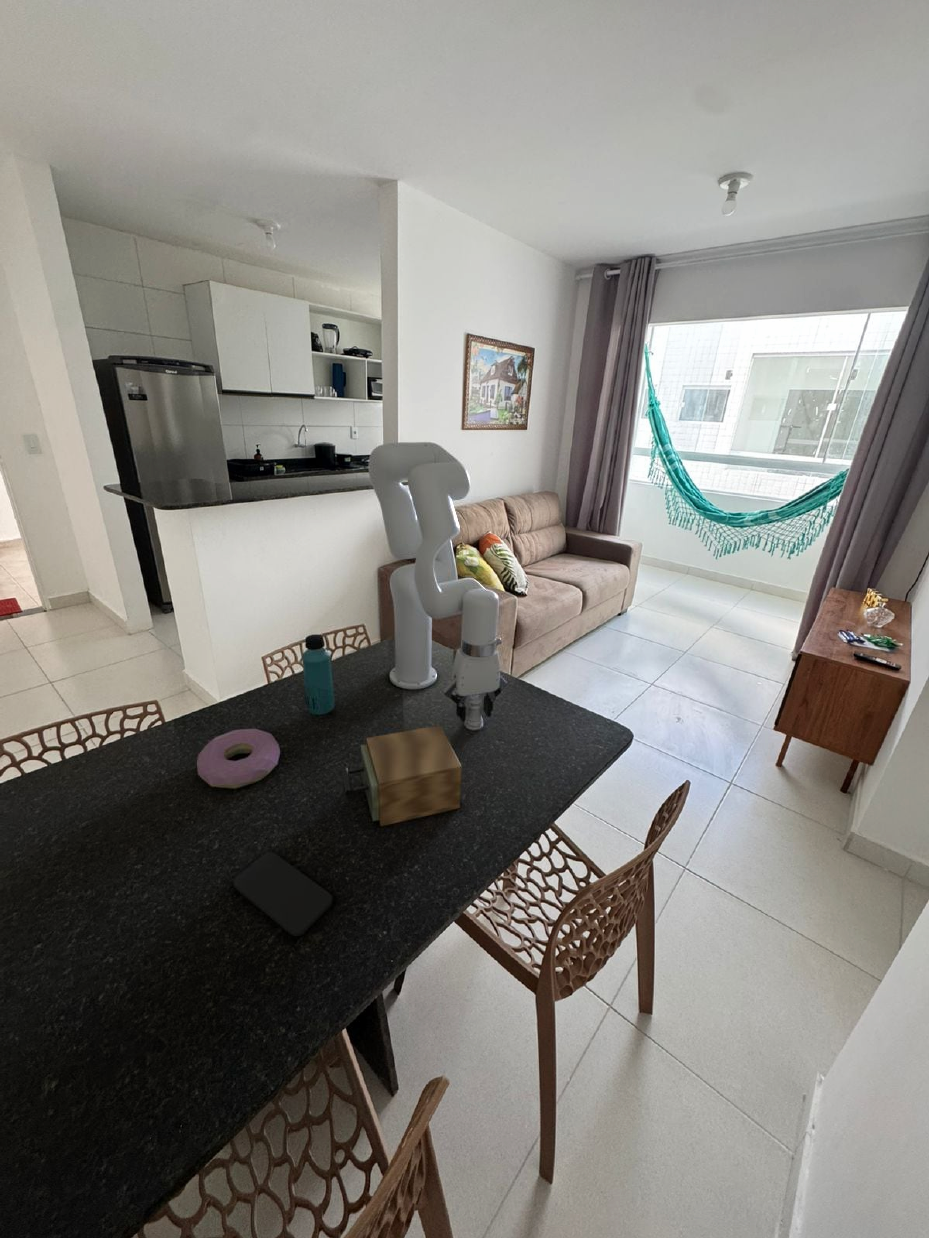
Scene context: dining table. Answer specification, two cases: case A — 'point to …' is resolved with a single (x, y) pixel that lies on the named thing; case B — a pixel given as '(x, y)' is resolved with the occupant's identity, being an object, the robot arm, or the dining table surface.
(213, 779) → the donut
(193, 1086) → the dining table surface
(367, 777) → the drawer
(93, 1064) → the dining table surface
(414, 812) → the cabinet
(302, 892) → the phone
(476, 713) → the rook chess piece
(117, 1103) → the dining table surface
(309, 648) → the beverage bottle
